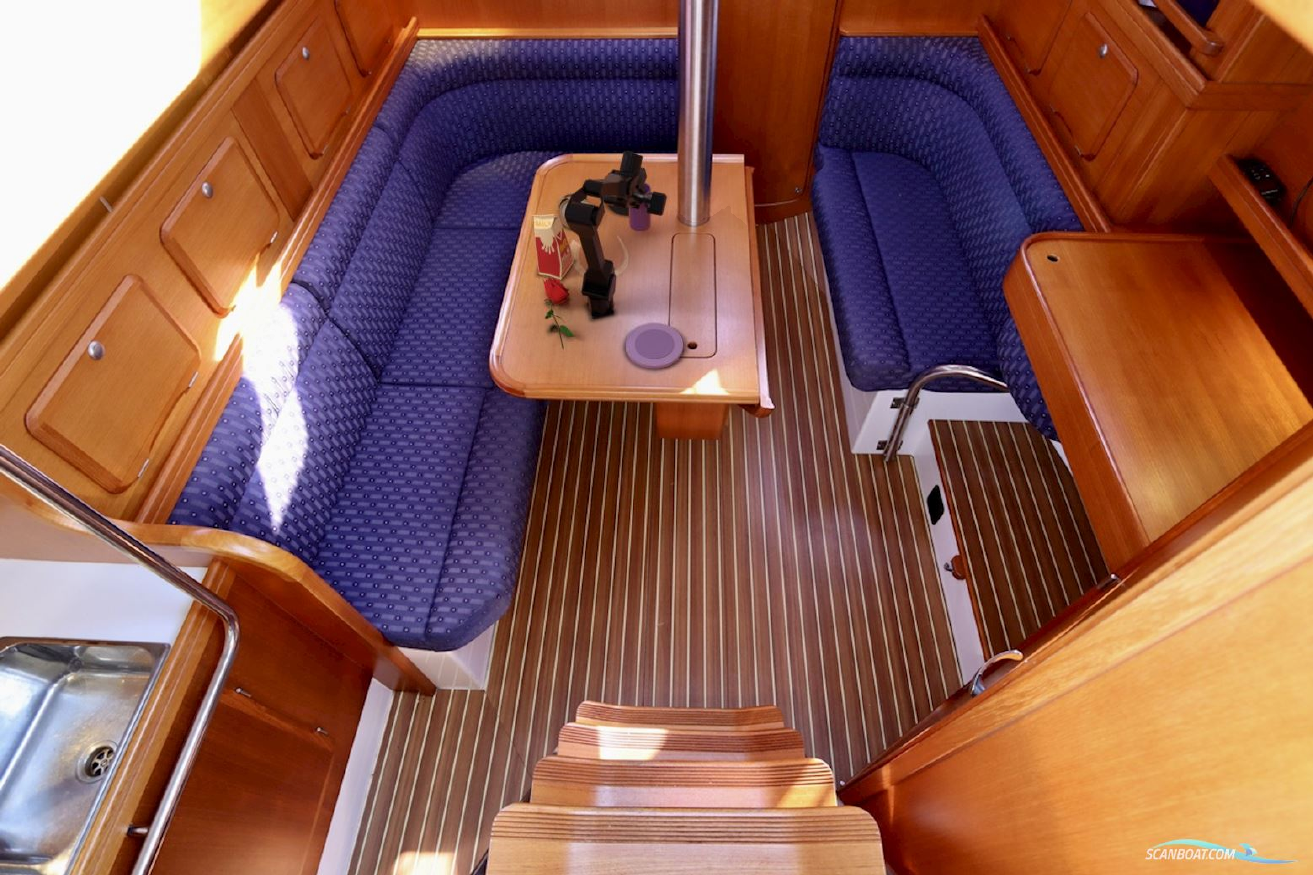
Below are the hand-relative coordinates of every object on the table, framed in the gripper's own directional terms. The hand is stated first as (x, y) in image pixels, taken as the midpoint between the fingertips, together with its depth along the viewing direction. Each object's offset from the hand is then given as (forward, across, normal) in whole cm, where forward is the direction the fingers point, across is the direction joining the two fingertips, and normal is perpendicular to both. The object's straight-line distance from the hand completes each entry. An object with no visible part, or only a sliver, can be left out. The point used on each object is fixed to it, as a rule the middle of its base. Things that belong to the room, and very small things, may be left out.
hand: (641, 204), depth 200 cm
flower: (-24, +9, +39) cm, 47 cm away
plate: (-25, -20, +40) cm, 51 cm away
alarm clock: (+8, +23, +7) cm, 26 cm away
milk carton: (-10, +20, +25) cm, 33 cm away
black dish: (+17, +9, -2) cm, 19 cm away
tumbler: (+4, 0, +6) cm, 7 cm away
